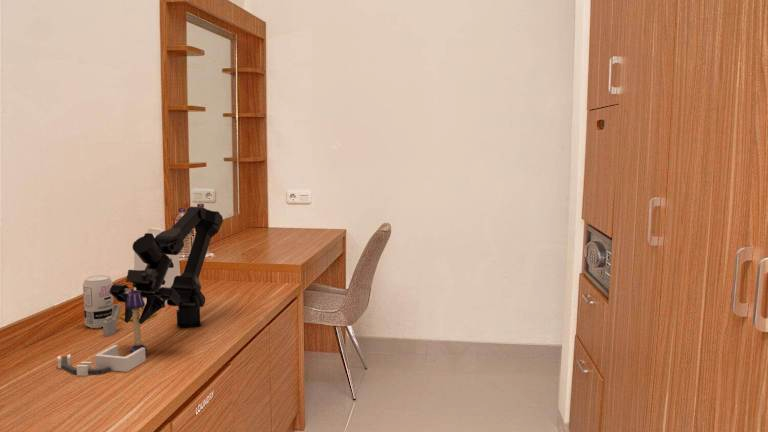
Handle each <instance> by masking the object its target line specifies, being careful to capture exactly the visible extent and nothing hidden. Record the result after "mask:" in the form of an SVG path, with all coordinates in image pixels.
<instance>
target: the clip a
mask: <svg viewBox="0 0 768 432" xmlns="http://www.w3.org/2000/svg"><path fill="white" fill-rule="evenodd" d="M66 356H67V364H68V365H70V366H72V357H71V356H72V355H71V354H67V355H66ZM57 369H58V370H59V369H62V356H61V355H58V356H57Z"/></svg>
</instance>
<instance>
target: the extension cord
mask: <svg viewBox="0 0 768 432" xmlns="http://www.w3.org/2000/svg"><path fill="white" fill-rule="evenodd" d="M145 305H146V304H145ZM145 305H144V306H143V307H141V308H140V309H142V310H144V308H145ZM121 315H122V316H123V315H125V312H122V313H120V314H119V318H120V320H122V321H125V317H122V316H121ZM157 315H158V313H157V312H155V313H154V314H153V315H152V316H150V317H149V318H148V319H147V320H149V319H152V318H154V317H156V316H157ZM139 319H140V317H139ZM129 322H133V318H131V319H130V320H129Z"/></svg>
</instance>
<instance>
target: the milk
mask: <svg viewBox="0 0 768 432" xmlns="http://www.w3.org/2000/svg"><path fill="white" fill-rule="evenodd" d="M163 231H164V229H163V228H157V227H149V228H148V229H147V233H152V234H153V236H154V238H155V237H156V236H157V235H158V234H160V233H161V232H163ZM133 252H134V251H133ZM179 254H180V253H179ZM179 254H178V255H167V256H168V257H169V258H171V259H172V263H173V265H174V267H173V268H168V271H167V273H166V275H165V278H164V280H165V285H161V287H167V288H171V286H172V284H173V282H174V278H175V277H176V276H181V267H180V255H179ZM133 257H134V260H133V270H145V268H146V266H147V264H146V263H144V262H143V261H142V260H141V259H140V258H139V256H138V255H137V254H136V253H135V252H134V255H133ZM161 287H160V288H161ZM133 290H136V287H133ZM143 301H144V304H146V303H147V298H143ZM165 304H167V301H165Z"/></svg>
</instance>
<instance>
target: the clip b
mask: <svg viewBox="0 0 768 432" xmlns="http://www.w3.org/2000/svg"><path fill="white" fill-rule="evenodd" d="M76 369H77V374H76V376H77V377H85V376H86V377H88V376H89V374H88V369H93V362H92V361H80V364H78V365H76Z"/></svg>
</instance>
